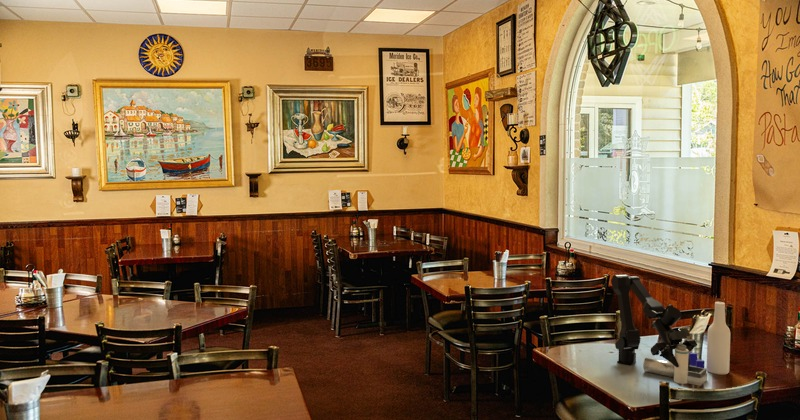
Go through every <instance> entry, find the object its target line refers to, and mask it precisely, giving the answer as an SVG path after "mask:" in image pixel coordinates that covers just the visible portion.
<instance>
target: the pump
mask: <svg viewBox="0 0 800 420" xmlns="http://www.w3.org/2000/svg"><path fill="white" fill-rule="evenodd" d="M681 344H682V343H680V344H679V345H677V348H675V349H674V356H675V358H676V360H677V362H678V365H679V367H676V366H674V377H673V382H674V383H677V384H682V385H685V384H688V383H687V382H688V354H689V353H690V351H689V350H688V349H686V345H681Z"/></svg>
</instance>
